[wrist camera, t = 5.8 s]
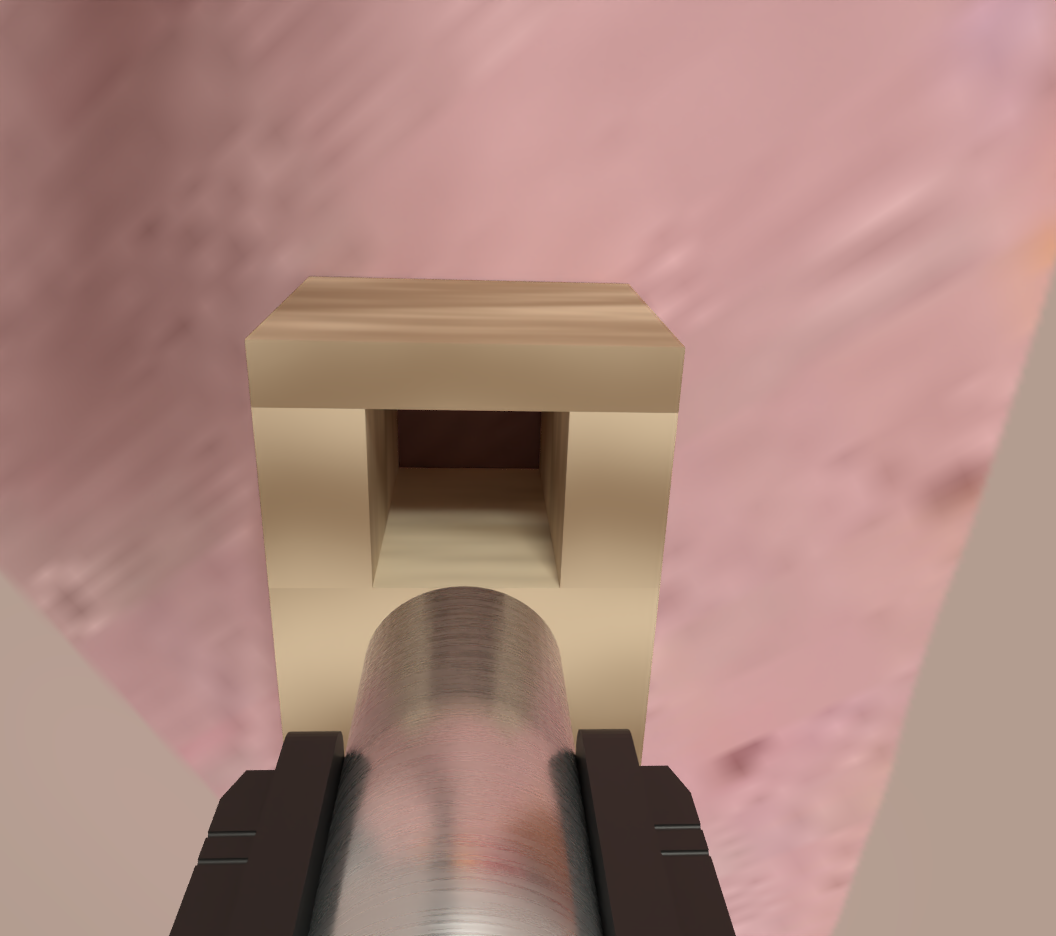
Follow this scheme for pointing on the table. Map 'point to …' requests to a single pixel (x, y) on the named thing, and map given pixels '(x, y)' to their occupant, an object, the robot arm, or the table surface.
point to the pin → (459, 782)
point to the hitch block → (463, 476)
